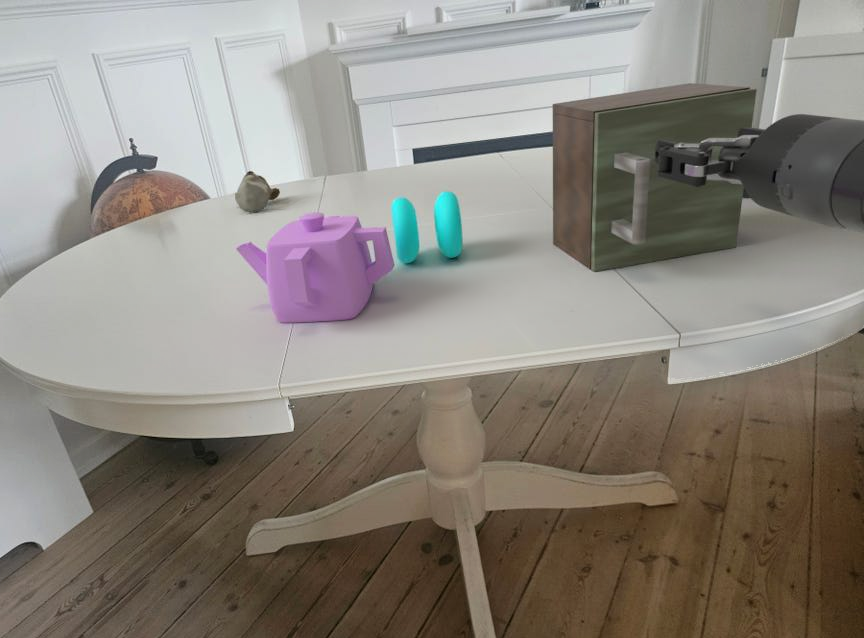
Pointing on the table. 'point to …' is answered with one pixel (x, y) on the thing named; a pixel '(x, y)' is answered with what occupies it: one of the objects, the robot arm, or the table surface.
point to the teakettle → (320, 267)
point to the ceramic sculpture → (254, 193)
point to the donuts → (445, 227)
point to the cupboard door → (662, 182)
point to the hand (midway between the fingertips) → (699, 145)
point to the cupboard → (578, 158)
